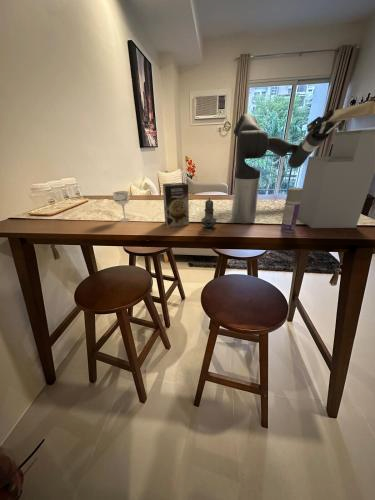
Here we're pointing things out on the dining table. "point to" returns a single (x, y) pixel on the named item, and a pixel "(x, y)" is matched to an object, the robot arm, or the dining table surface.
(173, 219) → the coffee box
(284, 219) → the container
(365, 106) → the wooden bar
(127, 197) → the wineglass
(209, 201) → the grey tall carved piece
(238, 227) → the dining table surface
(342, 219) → the stepped stand
